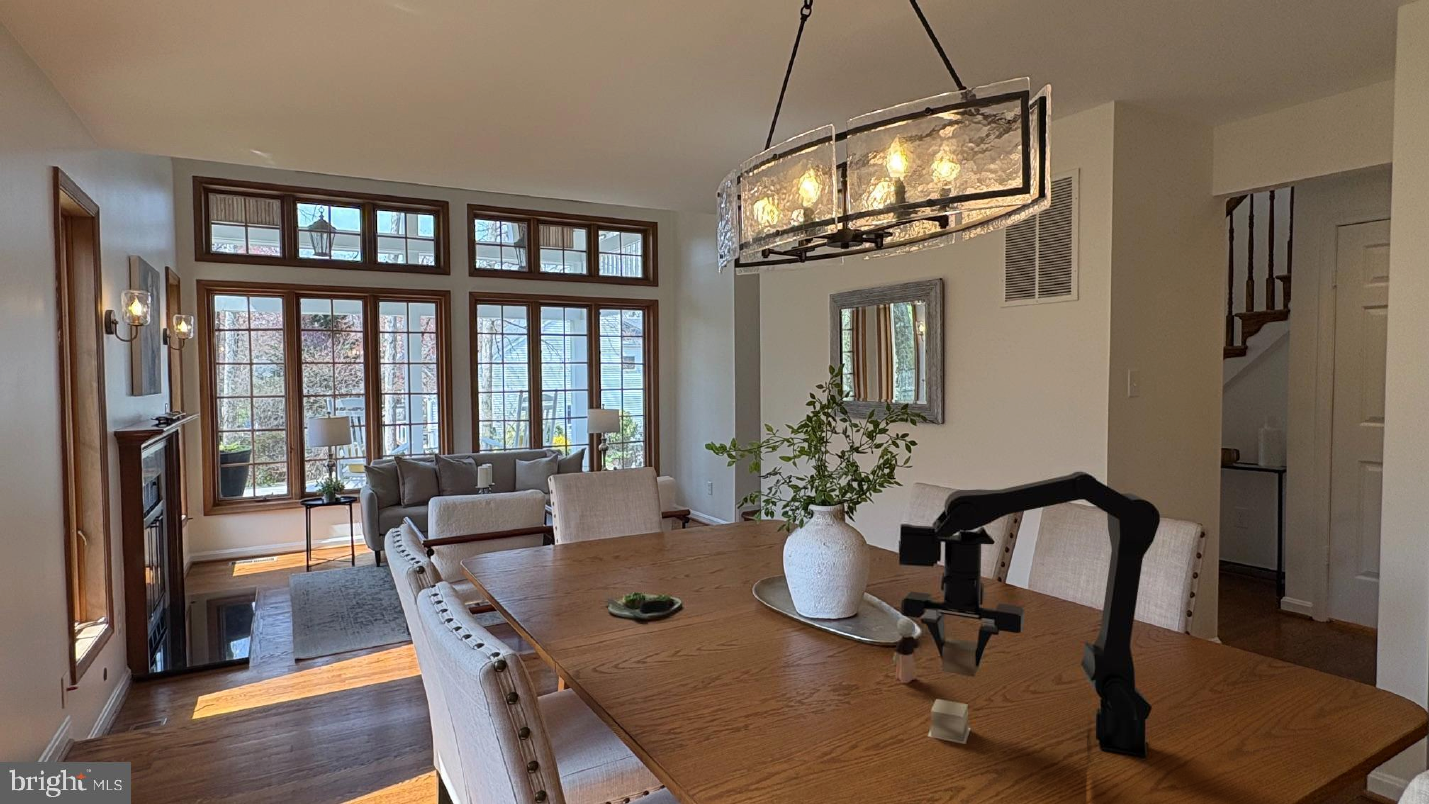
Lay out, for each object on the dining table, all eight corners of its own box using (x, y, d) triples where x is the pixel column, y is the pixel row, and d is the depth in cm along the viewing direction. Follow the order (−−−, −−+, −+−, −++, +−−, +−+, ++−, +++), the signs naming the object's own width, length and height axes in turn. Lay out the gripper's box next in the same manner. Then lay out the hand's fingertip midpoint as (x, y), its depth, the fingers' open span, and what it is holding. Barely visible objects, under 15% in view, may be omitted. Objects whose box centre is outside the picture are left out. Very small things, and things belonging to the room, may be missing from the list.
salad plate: (586, 615, 190) (586, 597, 189) (626, 596, 205) (626, 579, 205) (653, 626, 181) (653, 607, 181) (689, 606, 197) (689, 588, 197)
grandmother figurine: (904, 676, 149) (905, 611, 149) (923, 681, 147) (923, 615, 146) (886, 688, 143) (886, 622, 143) (905, 694, 141) (905, 626, 140)
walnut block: (979, 666, 127) (979, 642, 127) (974, 677, 123) (974, 652, 122) (948, 661, 129) (948, 637, 129) (942, 671, 125) (942, 647, 125)
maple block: (967, 728, 125) (967, 704, 125) (963, 741, 121) (963, 716, 120) (936, 722, 127) (936, 698, 127) (930, 735, 123) (930, 710, 123)
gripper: (1028, 565, 128) (1026, 657, 129) (916, 552, 137) (914, 638, 137) (1021, 580, 118) (1019, 680, 119) (900, 566, 127) (899, 658, 127)
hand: (960, 662), depth 126 cm, fingers closed on walnut block, 5 cm apart
